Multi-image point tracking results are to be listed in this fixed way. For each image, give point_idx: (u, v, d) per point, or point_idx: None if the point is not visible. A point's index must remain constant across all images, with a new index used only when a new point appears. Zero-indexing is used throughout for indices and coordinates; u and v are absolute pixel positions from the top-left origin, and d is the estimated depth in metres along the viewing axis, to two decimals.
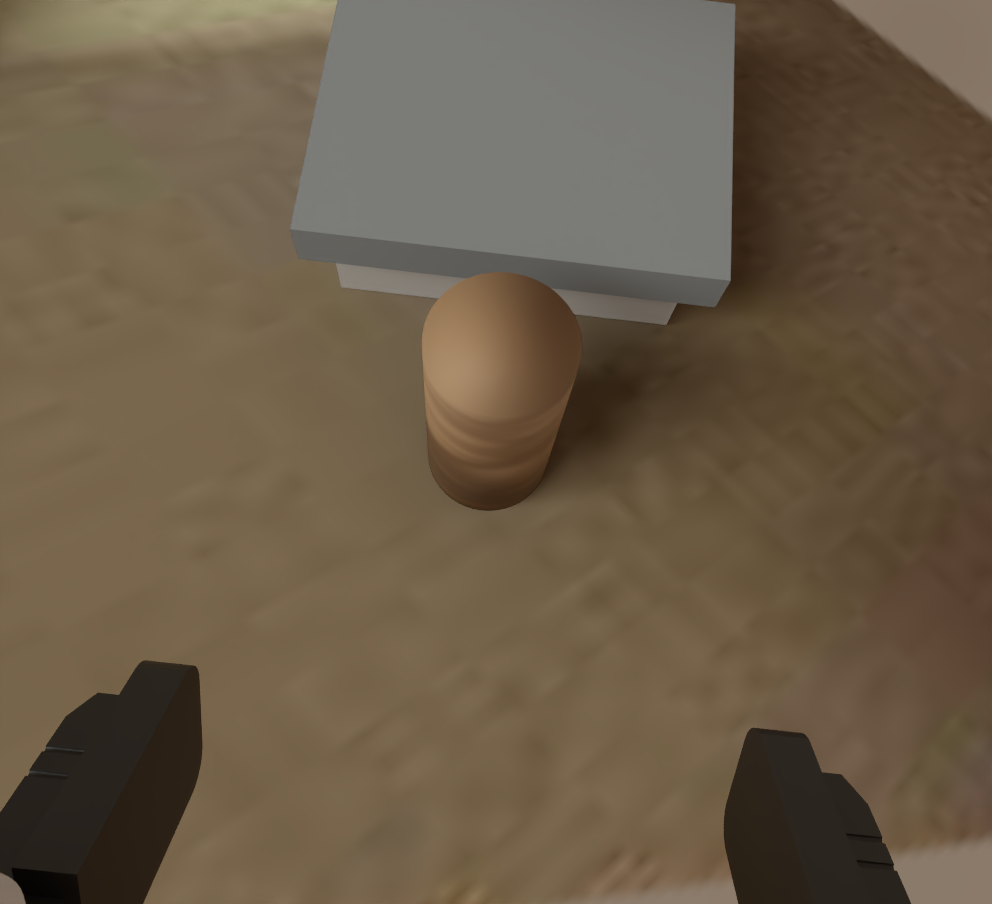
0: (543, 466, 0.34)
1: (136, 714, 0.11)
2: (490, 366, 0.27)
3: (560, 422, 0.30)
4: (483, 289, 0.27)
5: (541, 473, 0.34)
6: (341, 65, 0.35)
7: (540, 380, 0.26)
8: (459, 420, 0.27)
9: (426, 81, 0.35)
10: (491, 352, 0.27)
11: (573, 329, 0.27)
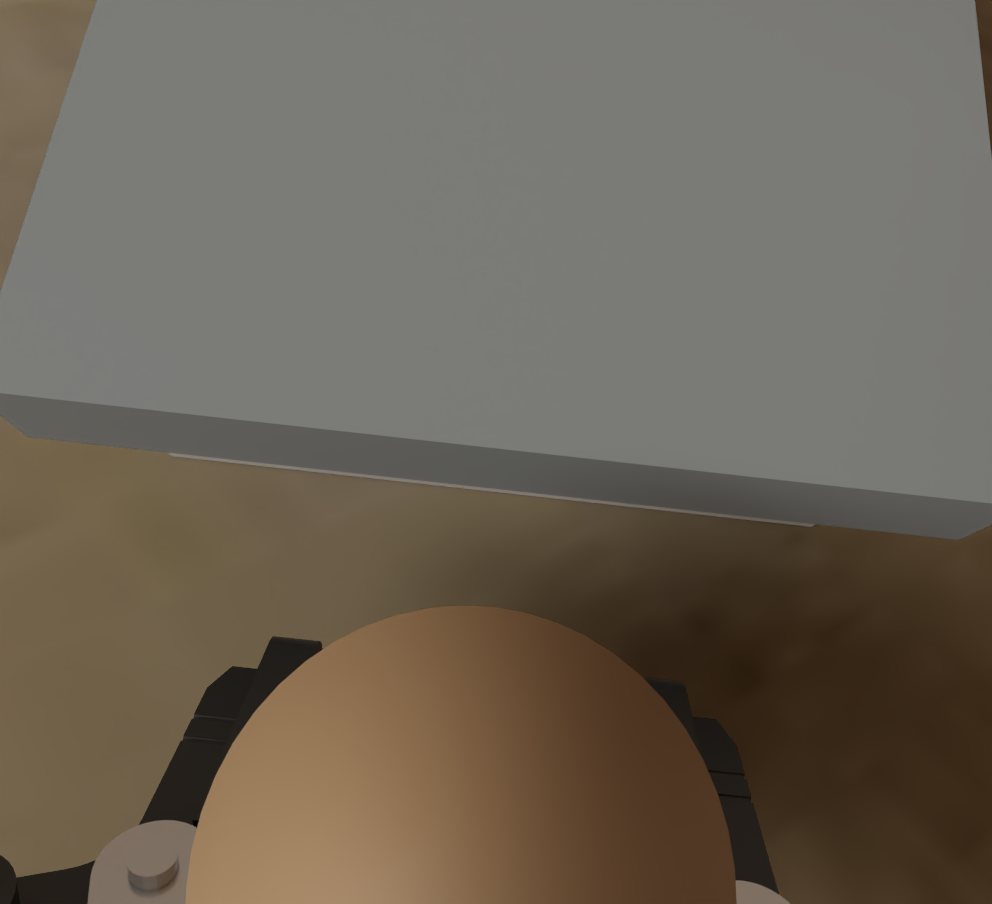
0: None
1: (278, 684, 0.12)
2: None
3: None
4: (407, 671, 0.08)
5: None
6: (133, 8, 0.16)
7: None
8: None
9: (316, 41, 0.16)
10: None
11: (703, 817, 0.08)
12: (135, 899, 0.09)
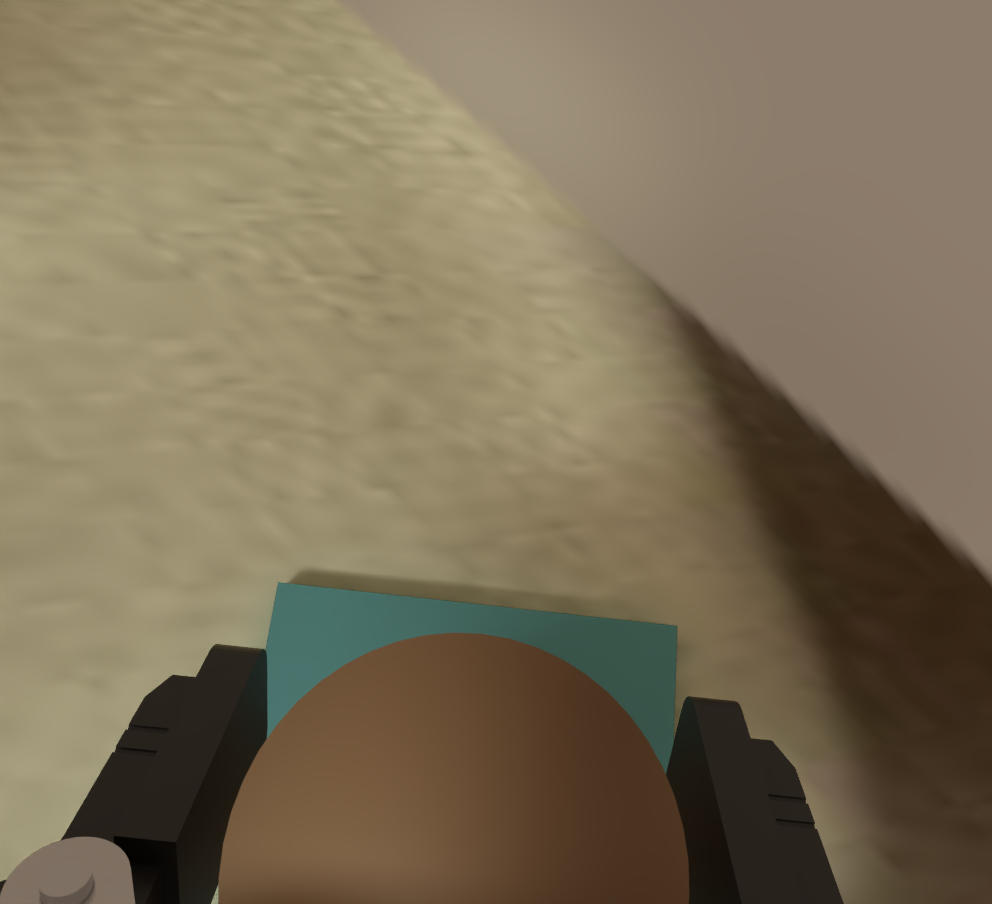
0: None
1: (215, 694, 0.12)
2: None
3: None
4: (407, 689, 0.10)
5: None
6: None
7: None
8: None
9: None
10: None
11: (661, 816, 0.09)
12: None
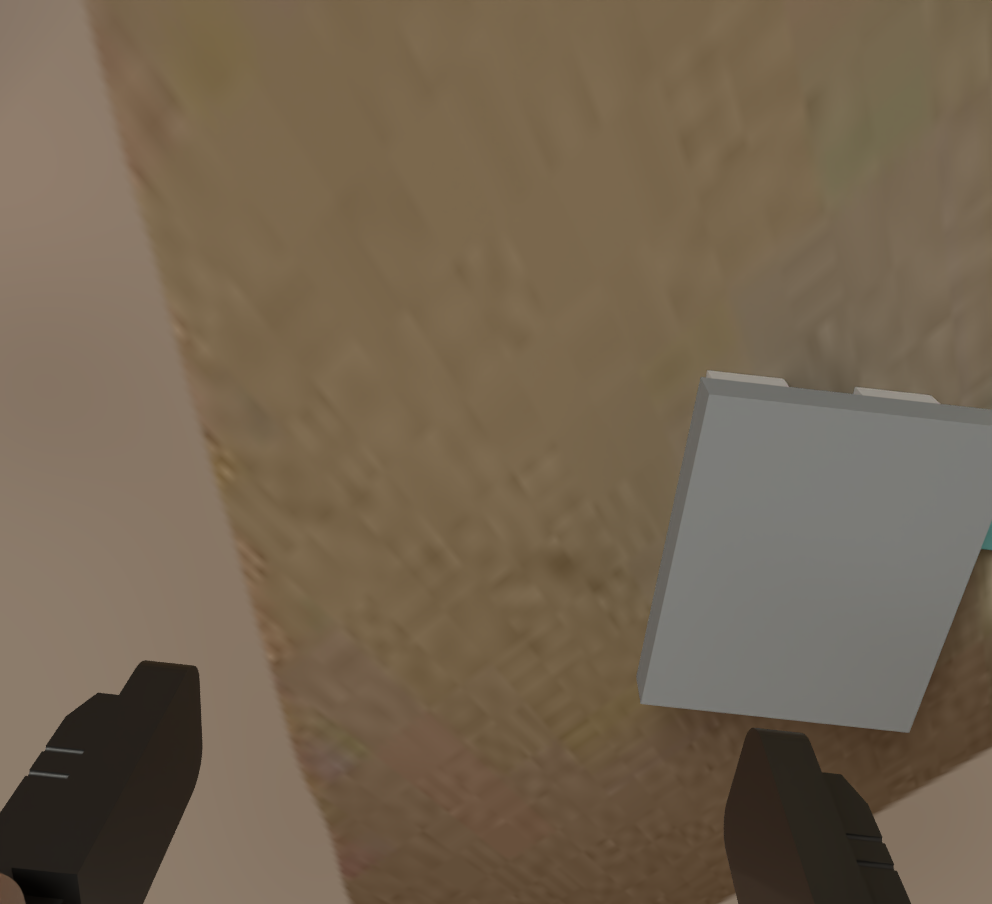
0: None
1: (136, 714, 0.11)
2: None
3: None
4: None
5: None
6: (888, 430, 0.37)
7: None
8: None
9: (859, 500, 0.38)
10: None
11: None
12: None
